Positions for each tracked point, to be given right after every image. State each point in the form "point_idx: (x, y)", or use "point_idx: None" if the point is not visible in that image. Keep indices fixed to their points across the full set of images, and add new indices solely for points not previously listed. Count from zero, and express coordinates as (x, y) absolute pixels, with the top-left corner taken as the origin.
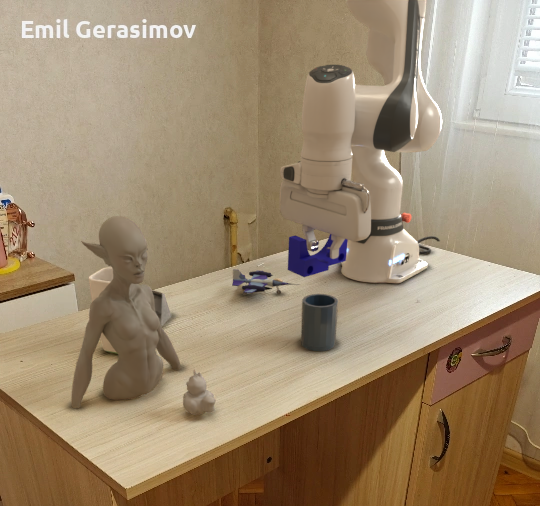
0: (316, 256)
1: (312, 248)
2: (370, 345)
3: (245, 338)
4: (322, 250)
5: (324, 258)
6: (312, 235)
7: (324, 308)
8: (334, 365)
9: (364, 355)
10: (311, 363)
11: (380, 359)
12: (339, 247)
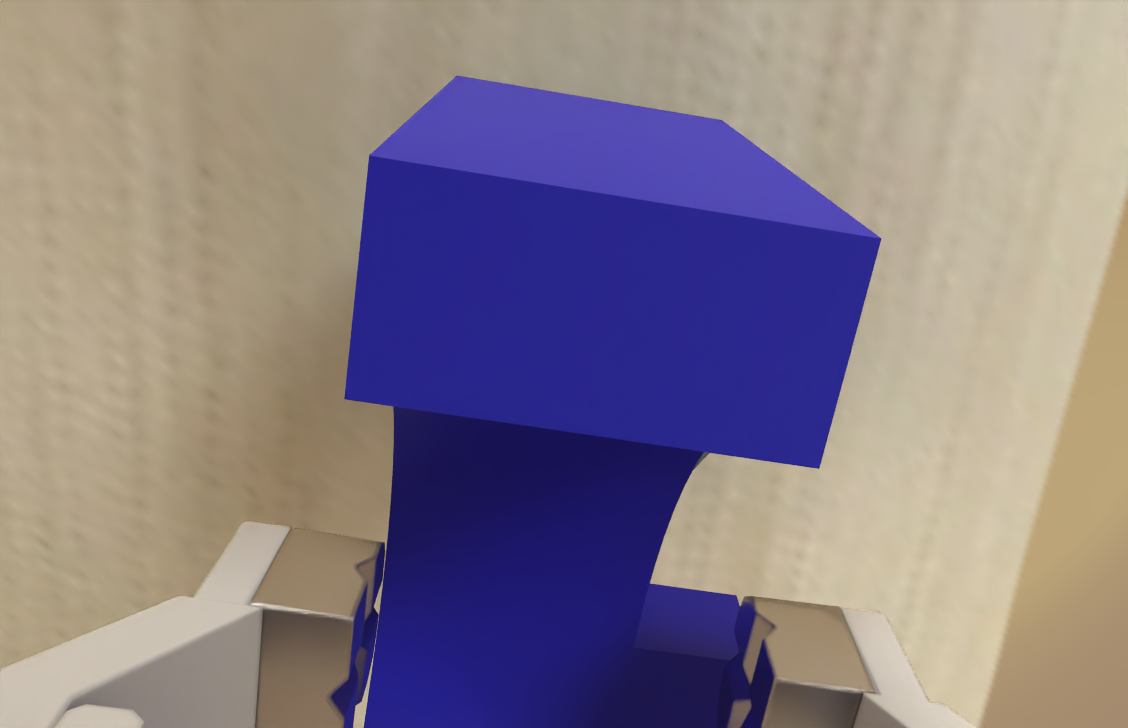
0: (465, 610)
1: (362, 684)
2: (904, 2)
3: (146, 494)
4: (437, 474)
5: (620, 606)
6: (185, 701)
7: (704, 455)
8: (854, 436)
9: (949, 184)
10: (718, 503)
11: (1078, 162)
12: (947, 719)
